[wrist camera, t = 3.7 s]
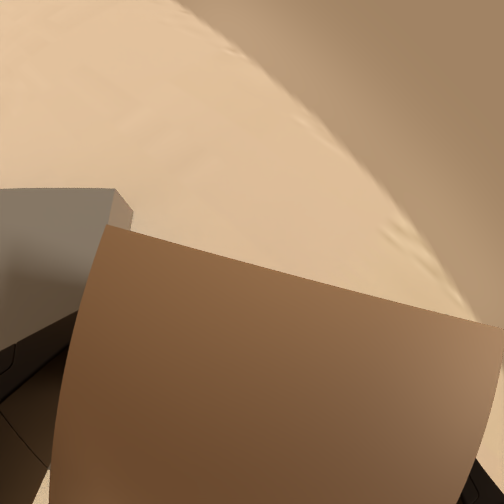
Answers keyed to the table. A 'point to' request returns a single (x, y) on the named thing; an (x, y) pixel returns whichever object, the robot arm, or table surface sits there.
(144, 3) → the table surface
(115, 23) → the table surface
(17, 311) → the plate
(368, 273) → the table surface
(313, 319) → the walnut block
